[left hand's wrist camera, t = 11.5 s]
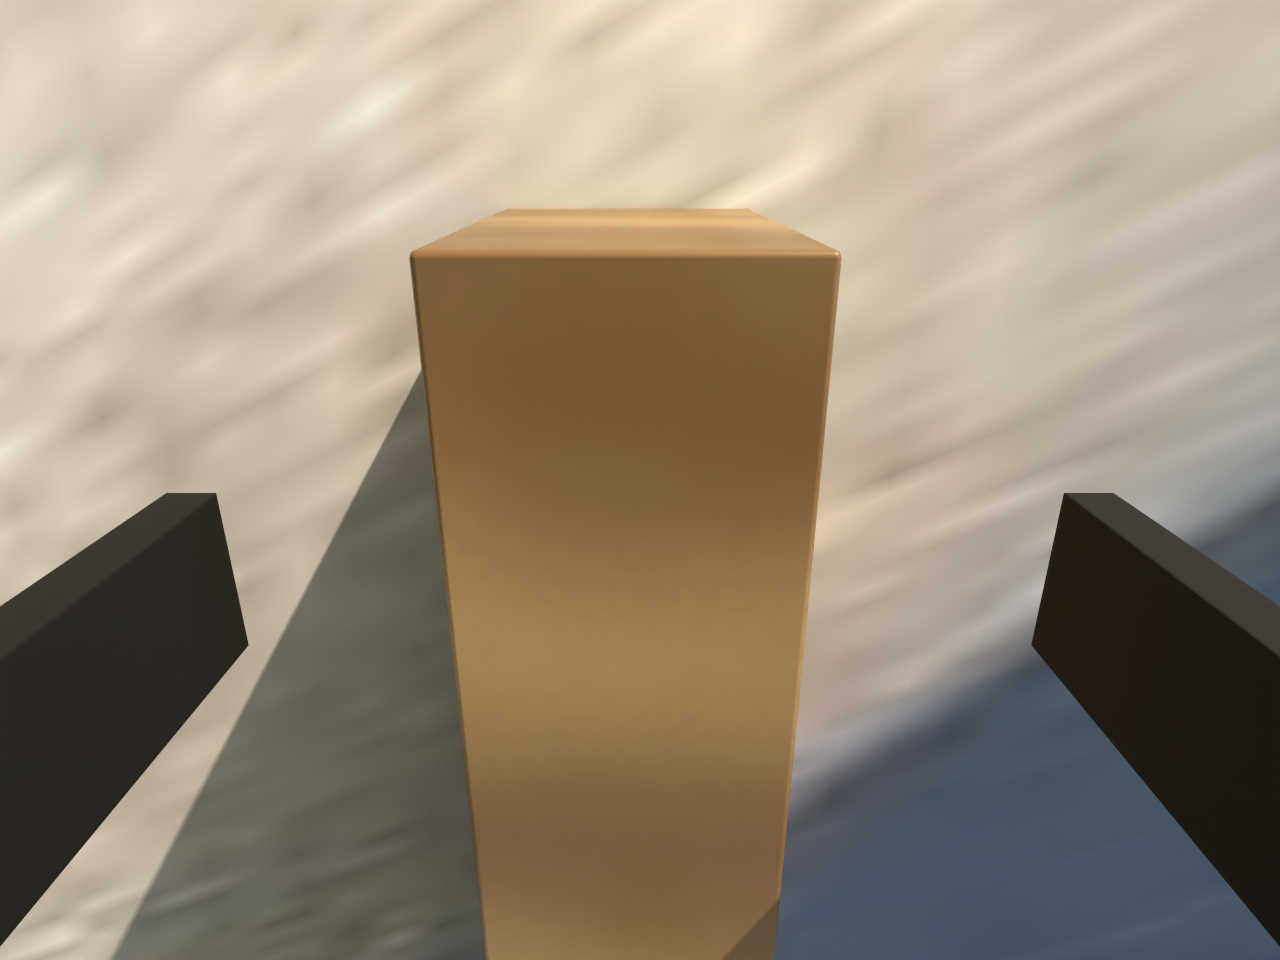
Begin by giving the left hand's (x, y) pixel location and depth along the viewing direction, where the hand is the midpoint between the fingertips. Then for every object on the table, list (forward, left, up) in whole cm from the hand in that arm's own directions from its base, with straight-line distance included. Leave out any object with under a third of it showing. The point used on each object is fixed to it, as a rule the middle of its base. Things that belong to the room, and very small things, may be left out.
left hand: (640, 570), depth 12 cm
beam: (+10, +29, -6) cm, 31 cm away
